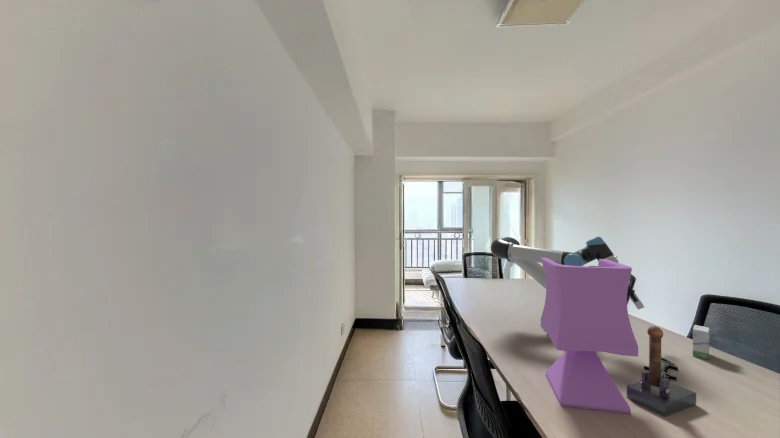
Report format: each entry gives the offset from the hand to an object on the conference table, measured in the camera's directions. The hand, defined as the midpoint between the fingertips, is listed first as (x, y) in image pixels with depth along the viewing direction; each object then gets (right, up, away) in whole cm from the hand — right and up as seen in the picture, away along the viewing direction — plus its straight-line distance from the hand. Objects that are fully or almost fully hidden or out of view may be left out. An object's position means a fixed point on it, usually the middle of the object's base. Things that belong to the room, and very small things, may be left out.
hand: (640, 307), depth 149 cm
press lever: (-31, -13, -45) cm, 56 cm away
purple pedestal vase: (-50, -19, -39) cm, 66 cm away
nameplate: (-12, -19, -25) cm, 33 cm away
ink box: (+18, -18, -10) cm, 28 cm away
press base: (-28, -19, -44) cm, 55 cm away
